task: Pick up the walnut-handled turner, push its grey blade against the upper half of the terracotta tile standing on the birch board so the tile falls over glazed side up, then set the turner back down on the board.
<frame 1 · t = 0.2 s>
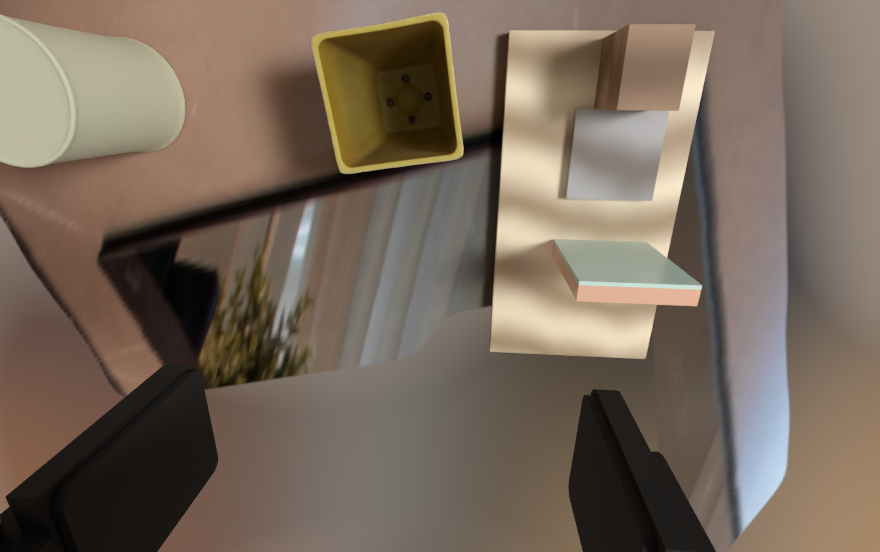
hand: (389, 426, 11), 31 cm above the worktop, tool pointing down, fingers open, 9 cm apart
board: (582, 211, 39), on the worktop
flower pot: (408, 100, 37), on the worktop
can: (136, 97, 38), on the worktop
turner: (624, 75, 34), point 1 cm above the worktop, touching board
tile: (598, 248, 39), point 1 cm above the worktop, touching board
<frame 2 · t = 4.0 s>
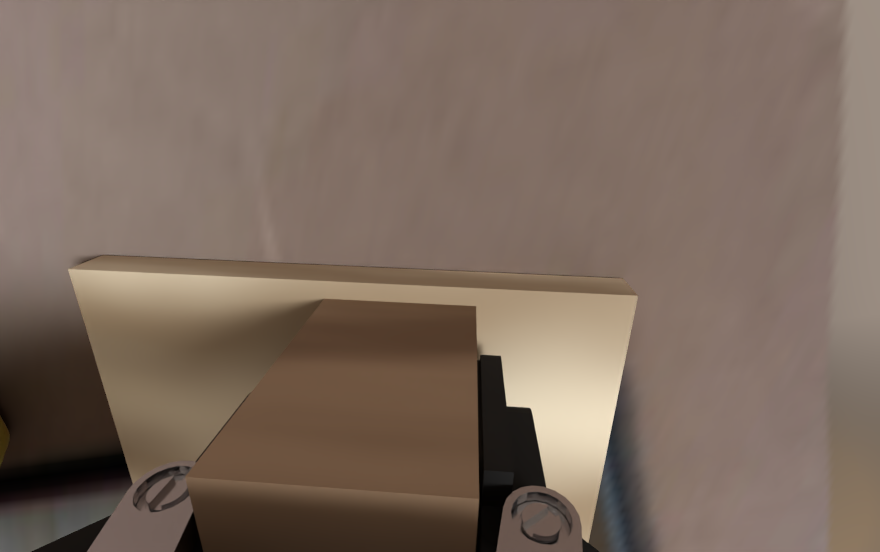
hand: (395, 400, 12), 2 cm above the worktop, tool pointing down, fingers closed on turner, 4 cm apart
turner: (400, 383, 12), point 1 cm above the worktop, touching board, gripper
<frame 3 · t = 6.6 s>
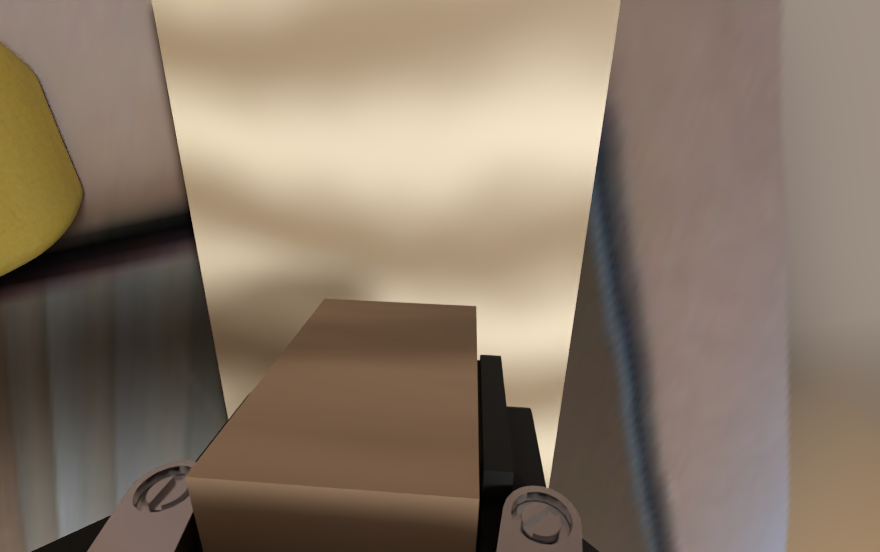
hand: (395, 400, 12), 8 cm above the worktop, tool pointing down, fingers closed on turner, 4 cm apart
board: (391, 360, 20), on the worktop
flower pot: (13, 144, 18), on the worktop
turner: (400, 383, 12), point 7 cm above the worktop, touching gripper
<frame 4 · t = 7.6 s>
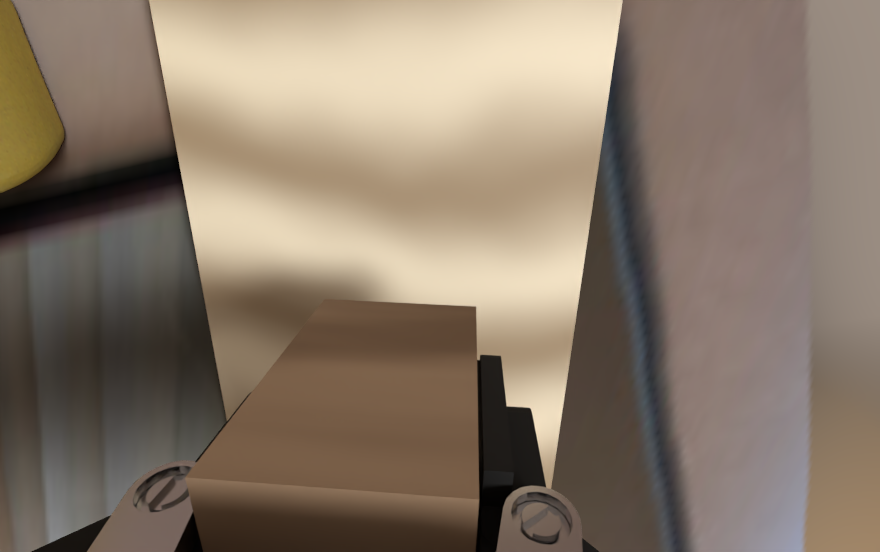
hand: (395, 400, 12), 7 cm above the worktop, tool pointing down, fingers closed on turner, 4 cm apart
board: (391, 315, 19), on the worktop
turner: (400, 383, 12), point 7 cm above the worktop, touching gripper
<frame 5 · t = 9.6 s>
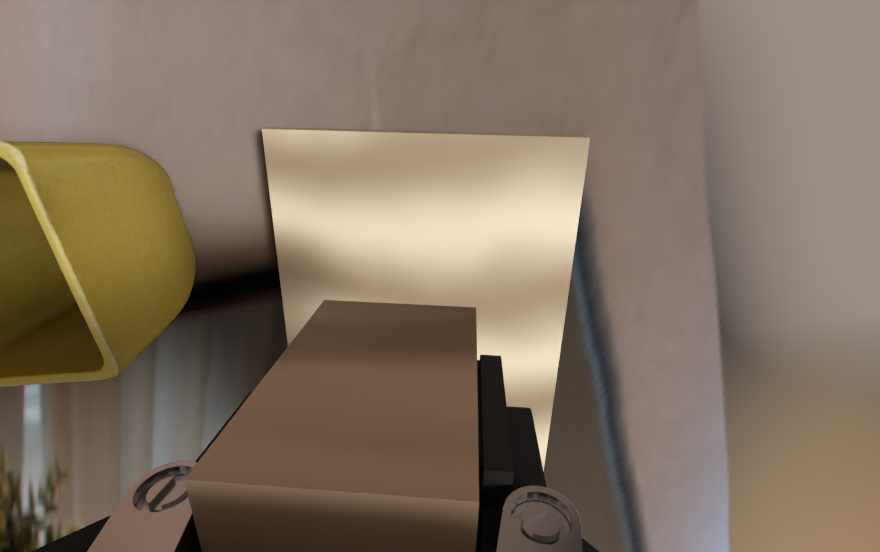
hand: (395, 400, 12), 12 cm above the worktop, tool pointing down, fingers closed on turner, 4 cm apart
board: (423, 378, 26), on the worktop
flower pot: (142, 220, 24), on the worktop
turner: (400, 384, 12), point 12 cm above the worktop, touching gripper
when the fingers open (3 cm above the worktop, at t = 11.4 s): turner drops 1 cm, resting on board.
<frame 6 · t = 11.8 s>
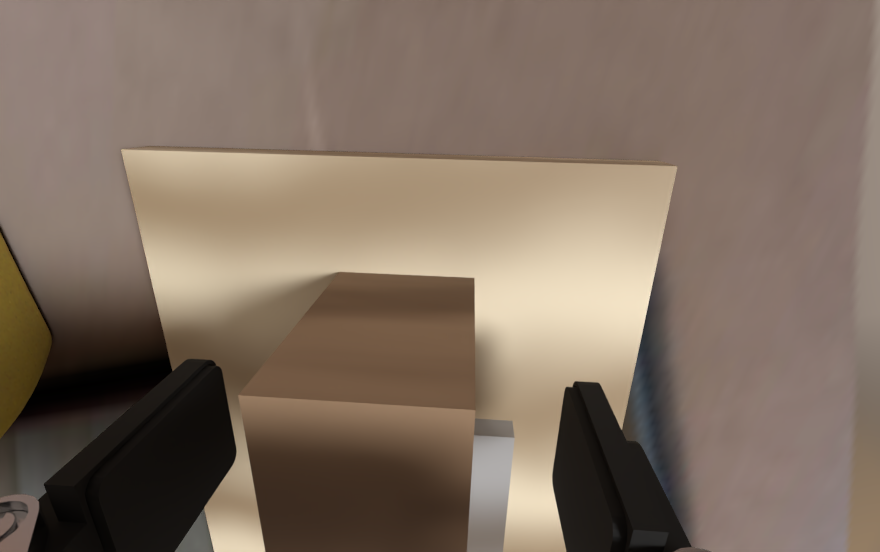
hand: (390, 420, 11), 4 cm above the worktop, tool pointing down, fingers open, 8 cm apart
board: (401, 508, 18), on the worktop
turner: (406, 349, 14), point 1 cm above the worktop, touching board
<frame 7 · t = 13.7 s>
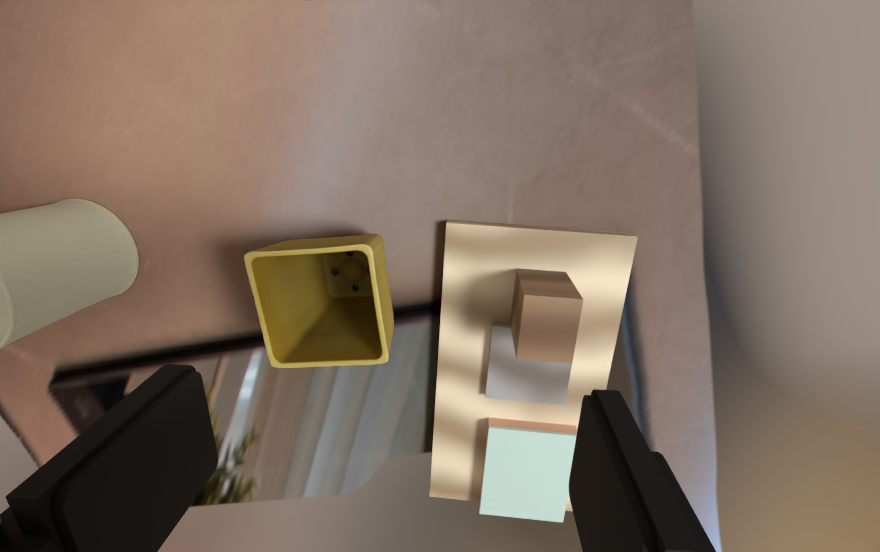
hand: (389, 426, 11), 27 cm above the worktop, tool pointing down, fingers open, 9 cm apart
board: (519, 375, 40), on the worktop
flower pot: (352, 269, 38), on the worktop
can: (91, 249, 40), on the worktop
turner: (537, 298, 36), point 1 cm above the worktop, touching board
tile: (532, 426, 40), point 2 cm above the worktop, tilted 90°, touching board
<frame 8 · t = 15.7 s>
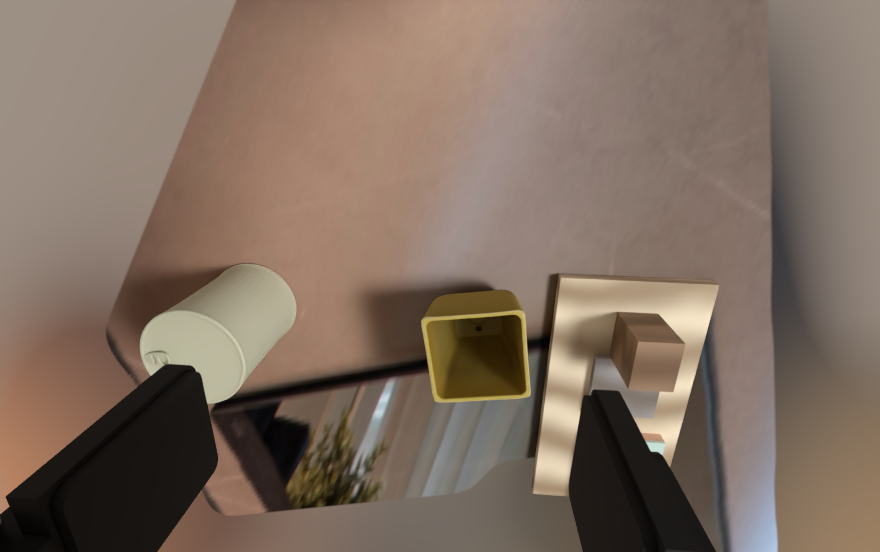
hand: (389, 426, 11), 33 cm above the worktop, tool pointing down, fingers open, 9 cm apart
board: (612, 394, 48), on the worktop
flower pot: (476, 313, 46), on the worktop
can: (256, 302, 48), on the worktop
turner: (633, 334, 44), point 1 cm above the worktop, touching board
tile: (625, 436, 48), point 2 cm above the worktop, tilted 90°, touching board
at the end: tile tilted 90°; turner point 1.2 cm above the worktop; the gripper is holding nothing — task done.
